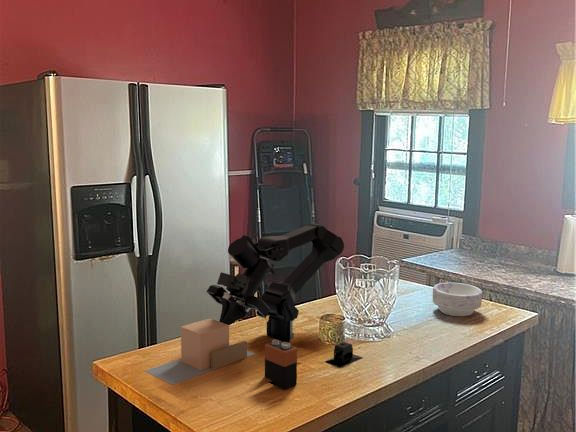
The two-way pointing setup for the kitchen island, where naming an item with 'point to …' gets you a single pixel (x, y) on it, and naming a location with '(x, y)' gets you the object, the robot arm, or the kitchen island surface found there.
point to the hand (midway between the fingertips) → (219, 328)
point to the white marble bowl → (457, 298)
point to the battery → (281, 364)
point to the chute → (182, 371)
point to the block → (202, 342)
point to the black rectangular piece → (343, 355)
